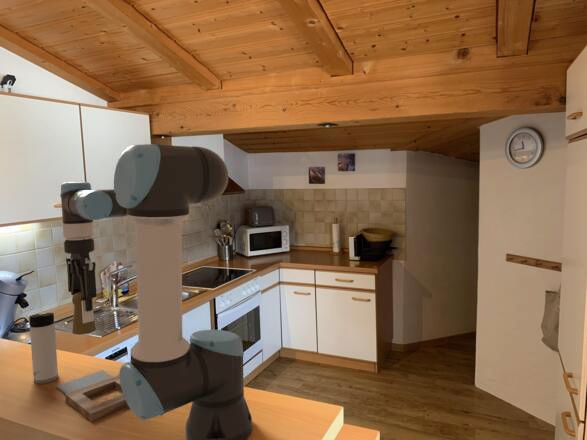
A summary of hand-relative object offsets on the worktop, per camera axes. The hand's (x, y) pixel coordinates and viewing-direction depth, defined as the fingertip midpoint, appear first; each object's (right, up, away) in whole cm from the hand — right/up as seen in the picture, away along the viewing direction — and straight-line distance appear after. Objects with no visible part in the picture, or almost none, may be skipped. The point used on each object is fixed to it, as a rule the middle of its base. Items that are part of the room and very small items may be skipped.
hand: (83, 319), depth 123 cm
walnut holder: (+10, -20, -7) cm, 23 cm away
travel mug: (-14, -19, +5) cm, 24 cm away
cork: (0, -3, 0) cm, 3 cm away
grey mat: (0, -19, +2) cm, 19 cm away
